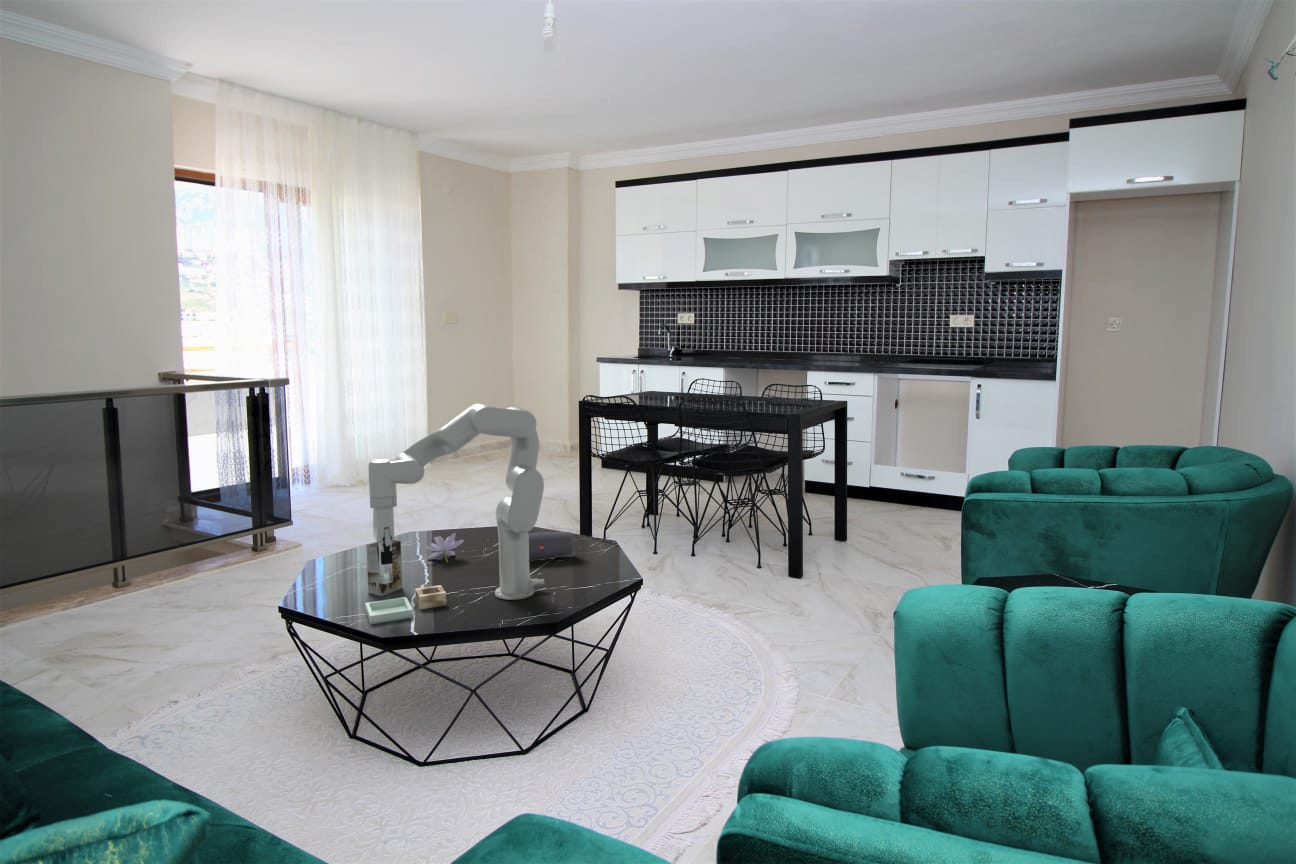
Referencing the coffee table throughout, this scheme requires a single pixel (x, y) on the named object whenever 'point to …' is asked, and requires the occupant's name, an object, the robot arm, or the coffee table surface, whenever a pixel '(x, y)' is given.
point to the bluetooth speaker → (549, 545)
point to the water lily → (443, 546)
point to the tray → (388, 610)
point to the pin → (384, 569)
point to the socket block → (430, 597)
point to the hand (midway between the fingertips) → (385, 561)
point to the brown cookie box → (373, 570)
